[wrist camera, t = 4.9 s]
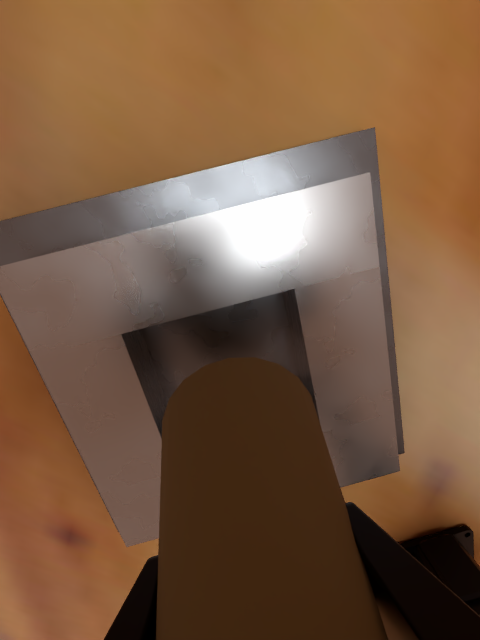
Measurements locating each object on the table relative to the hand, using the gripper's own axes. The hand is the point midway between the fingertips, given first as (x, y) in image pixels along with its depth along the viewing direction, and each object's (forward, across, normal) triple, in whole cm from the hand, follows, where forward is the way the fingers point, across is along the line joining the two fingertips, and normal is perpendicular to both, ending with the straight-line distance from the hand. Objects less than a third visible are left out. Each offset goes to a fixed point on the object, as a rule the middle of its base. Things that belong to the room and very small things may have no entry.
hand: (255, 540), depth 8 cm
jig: (+12, 0, 0) cm, 12 cm away
